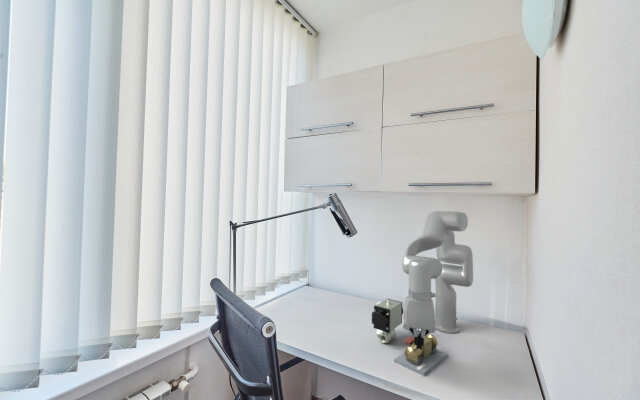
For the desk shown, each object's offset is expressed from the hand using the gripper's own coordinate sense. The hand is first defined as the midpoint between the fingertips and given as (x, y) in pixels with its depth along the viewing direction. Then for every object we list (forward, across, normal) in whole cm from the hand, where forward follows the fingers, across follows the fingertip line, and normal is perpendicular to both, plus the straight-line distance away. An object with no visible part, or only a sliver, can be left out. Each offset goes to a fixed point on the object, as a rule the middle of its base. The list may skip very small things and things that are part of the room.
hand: (418, 347), depth 98 cm
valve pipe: (+10, -2, -12) cm, 15 cm away
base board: (+10, -2, -12) cm, 15 cm away
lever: (-1, +1, -6) cm, 6 cm away
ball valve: (+10, +11, -24) cm, 28 cm away
